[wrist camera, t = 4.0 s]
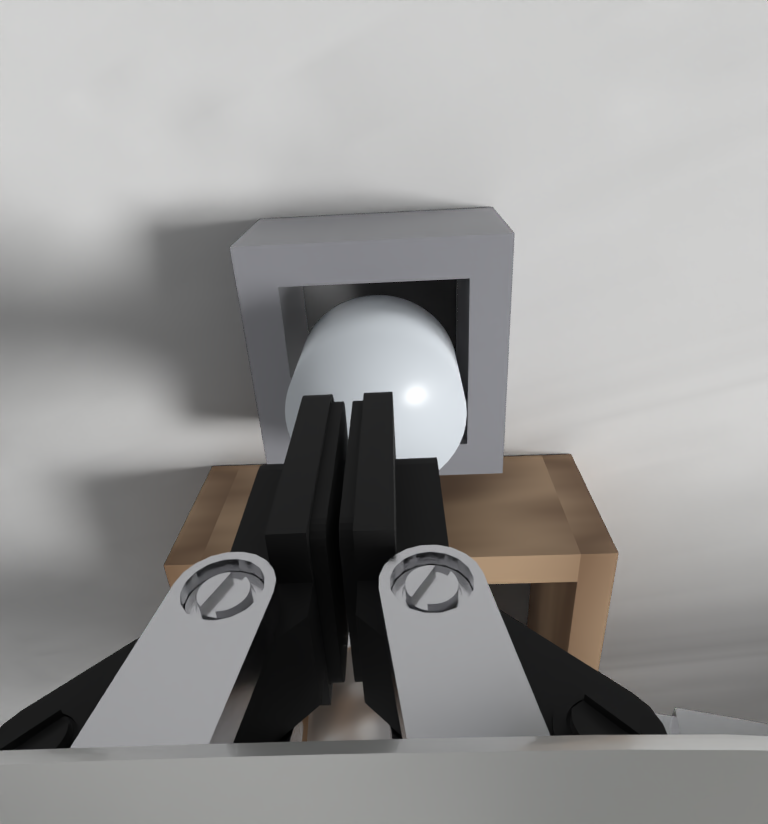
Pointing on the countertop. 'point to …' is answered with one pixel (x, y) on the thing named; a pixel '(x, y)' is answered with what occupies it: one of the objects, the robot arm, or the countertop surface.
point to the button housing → (373, 263)
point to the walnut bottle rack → (475, 540)
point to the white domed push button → (386, 371)
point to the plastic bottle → (346, 713)
